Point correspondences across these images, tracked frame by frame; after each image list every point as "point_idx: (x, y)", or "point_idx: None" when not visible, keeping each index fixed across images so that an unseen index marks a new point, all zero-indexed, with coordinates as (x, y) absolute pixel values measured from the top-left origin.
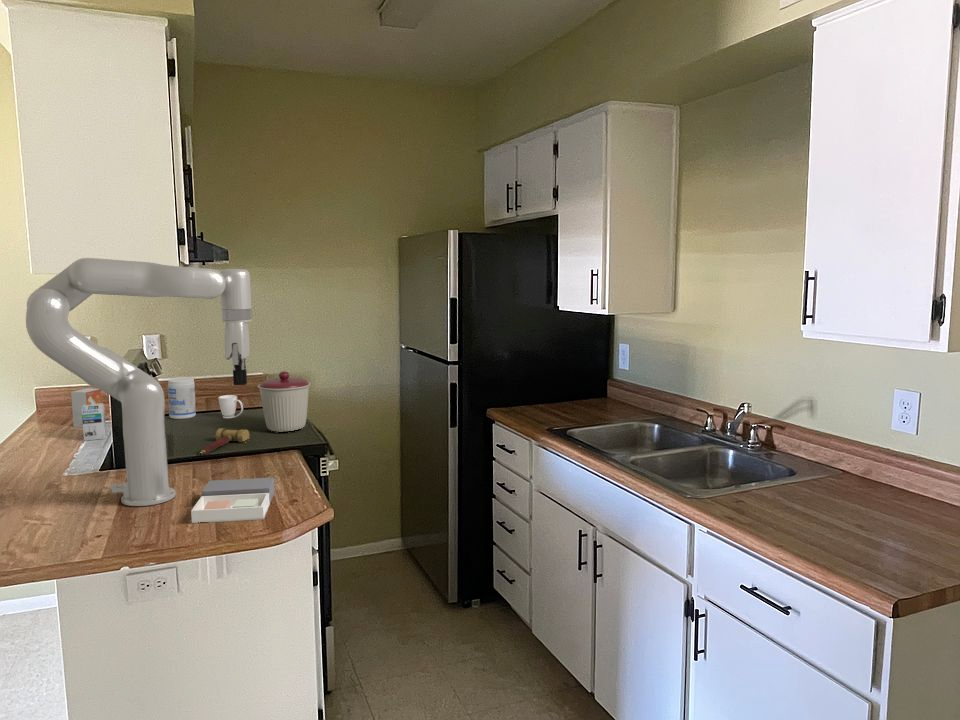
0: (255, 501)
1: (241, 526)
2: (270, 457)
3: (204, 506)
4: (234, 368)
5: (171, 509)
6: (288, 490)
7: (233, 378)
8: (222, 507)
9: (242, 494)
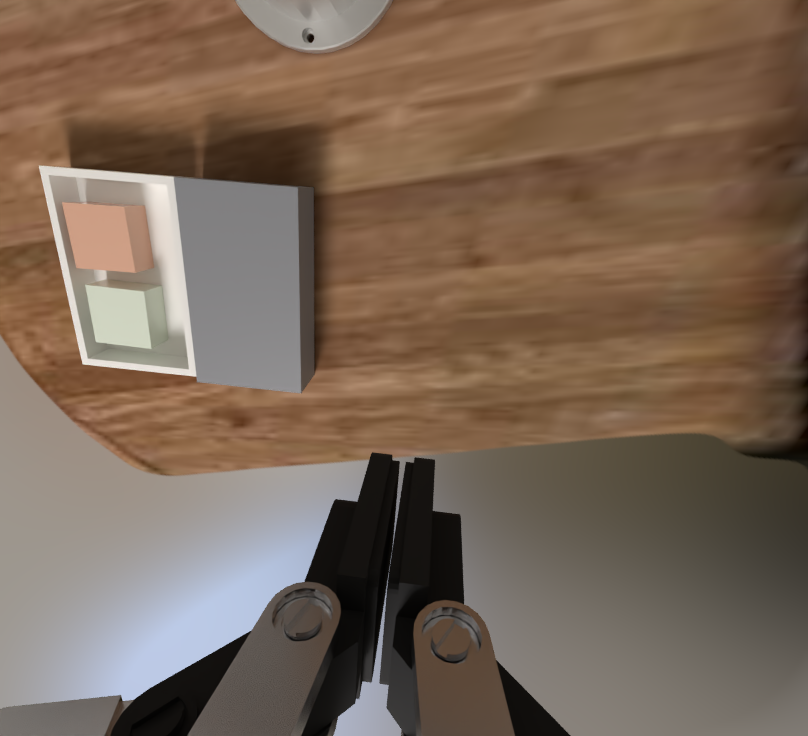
0: (128, 343)
1: (59, 303)
2: (727, 356)
3: None
4: (265, 626)
5: (189, 70)
6: (326, 408)
7: (360, 493)
8: (78, 257)
9: (186, 305)
